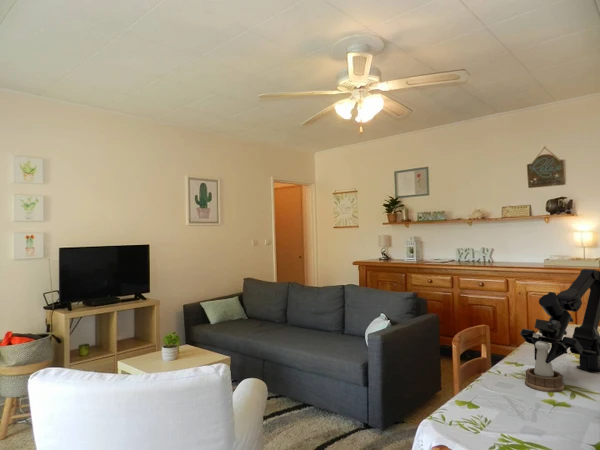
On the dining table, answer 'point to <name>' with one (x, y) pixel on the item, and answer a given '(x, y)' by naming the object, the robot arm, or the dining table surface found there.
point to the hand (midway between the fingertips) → (540, 361)
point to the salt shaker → (543, 360)
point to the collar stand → (544, 381)
